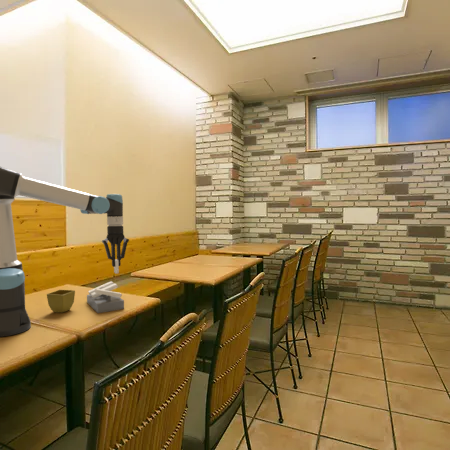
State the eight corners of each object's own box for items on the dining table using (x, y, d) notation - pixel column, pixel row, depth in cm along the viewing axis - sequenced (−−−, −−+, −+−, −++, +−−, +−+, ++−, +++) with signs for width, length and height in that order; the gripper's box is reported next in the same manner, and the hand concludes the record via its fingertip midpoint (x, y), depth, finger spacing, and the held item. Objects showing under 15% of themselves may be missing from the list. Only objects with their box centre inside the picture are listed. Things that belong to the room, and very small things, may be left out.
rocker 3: (95, 293, 153) (96, 289, 153) (94, 291, 156) (95, 288, 156) (120, 297, 159) (121, 294, 160) (118, 296, 162) (119, 292, 162)
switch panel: (97, 313, 151) (97, 300, 151) (87, 302, 169) (86, 290, 169) (124, 308, 158) (123, 296, 157) (111, 299, 176) (110, 287, 175)
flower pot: (63, 314, 149) (63, 294, 149) (46, 313, 151) (46, 293, 150) (76, 309, 158) (75, 290, 157) (59, 308, 159) (59, 289, 159)
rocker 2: (93, 298, 159) (92, 295, 158) (92, 296, 161) (91, 293, 161) (117, 287, 165) (116, 284, 165) (115, 286, 168) (114, 283, 167)
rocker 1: (90, 295, 164) (89, 292, 164) (89, 293, 167) (88, 291, 166) (114, 284, 170) (113, 282, 170) (112, 283, 173) (111, 281, 173)
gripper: (103, 226, 157) (104, 275, 158) (130, 225, 164) (131, 272, 165) (99, 225, 163) (101, 273, 164) (126, 224, 171) (127, 270, 171)
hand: (116, 272), depth 165 cm, fingers closed
